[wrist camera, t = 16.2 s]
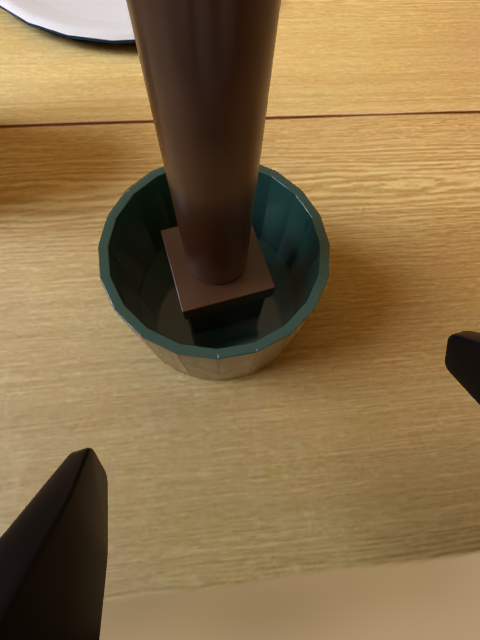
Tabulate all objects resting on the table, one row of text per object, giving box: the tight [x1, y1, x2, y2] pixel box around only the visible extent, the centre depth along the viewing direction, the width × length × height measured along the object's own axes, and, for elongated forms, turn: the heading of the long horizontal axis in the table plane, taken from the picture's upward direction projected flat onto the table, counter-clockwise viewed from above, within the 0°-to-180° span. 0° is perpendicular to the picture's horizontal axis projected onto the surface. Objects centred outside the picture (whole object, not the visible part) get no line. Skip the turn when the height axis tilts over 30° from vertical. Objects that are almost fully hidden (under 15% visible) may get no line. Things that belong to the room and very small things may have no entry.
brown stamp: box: [126, 0, 281, 334], centre depth 11 cm, size 4×4×14 cm
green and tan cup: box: [98, 165, 330, 380], centre depth 16 cm, size 9×9×6 cm
